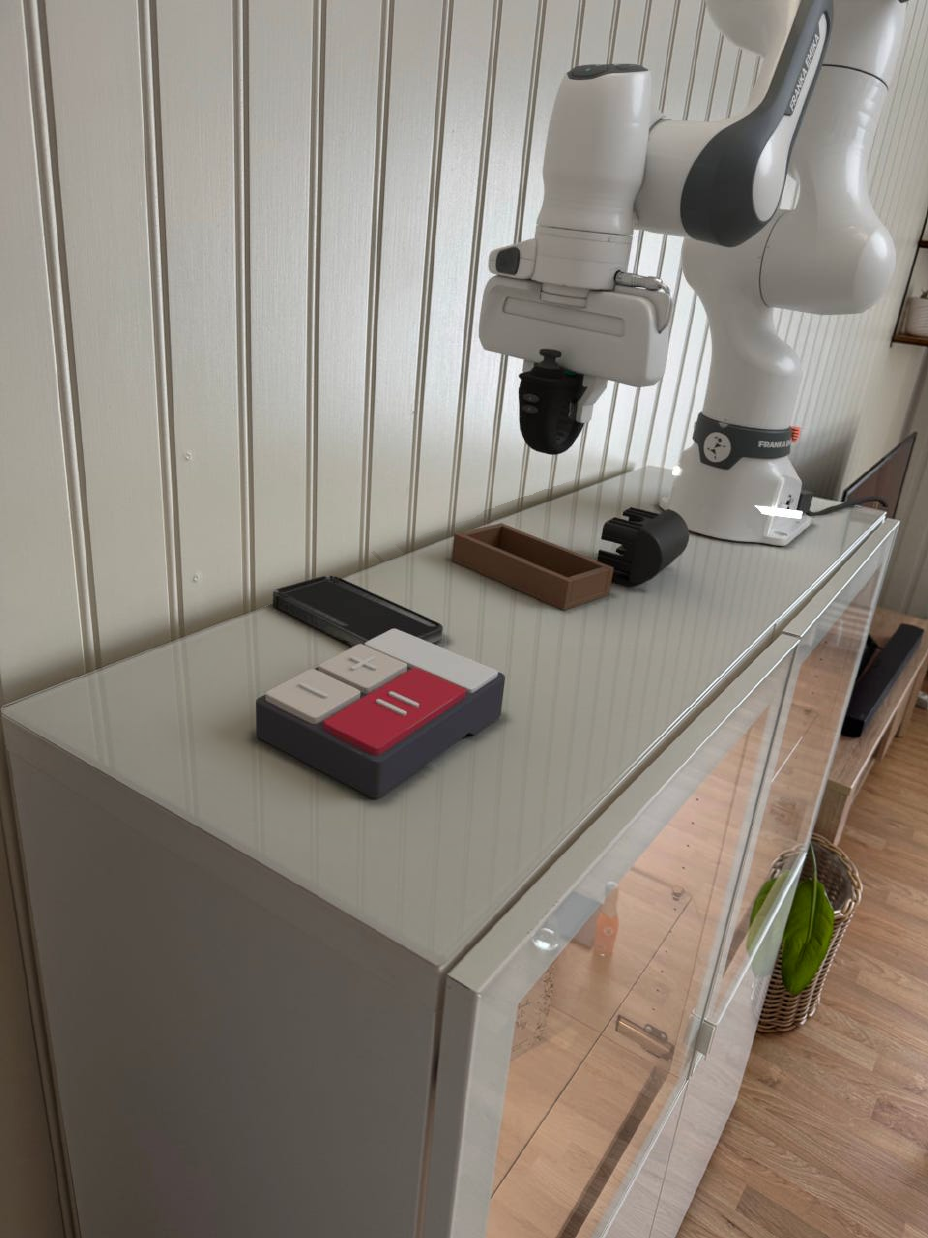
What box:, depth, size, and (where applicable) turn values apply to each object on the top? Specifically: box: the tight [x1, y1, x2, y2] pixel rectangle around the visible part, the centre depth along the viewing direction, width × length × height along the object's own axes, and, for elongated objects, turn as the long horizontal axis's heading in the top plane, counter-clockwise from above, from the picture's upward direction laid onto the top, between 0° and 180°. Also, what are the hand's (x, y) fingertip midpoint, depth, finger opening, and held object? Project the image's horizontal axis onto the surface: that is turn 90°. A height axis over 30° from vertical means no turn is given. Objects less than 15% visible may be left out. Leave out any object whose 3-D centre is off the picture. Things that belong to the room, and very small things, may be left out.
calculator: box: [255, 629, 506, 799], centre depth 66 cm, size 11×4×15 cm
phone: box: [272, 575, 444, 647], centre depth 83 cm, size 8×1×15 cm
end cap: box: [596, 506, 690, 588], centre depth 102 cm, size 10×7×7 cm
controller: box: [518, 349, 587, 456], centre depth 90 cm, size 4×12×10 cm, turn 146°
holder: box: [451, 522, 614, 611], centre depth 98 cm, size 8×16×3 cm, turn 46°
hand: (558, 415), depth 91 cm, fingers closed on controller, 4 cm apart
